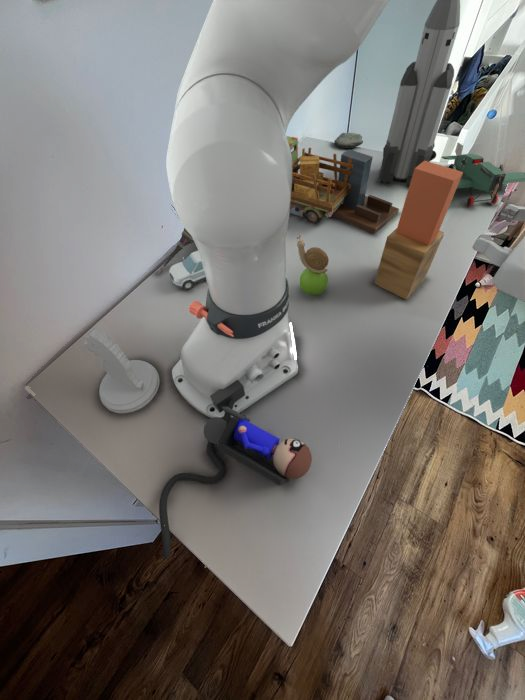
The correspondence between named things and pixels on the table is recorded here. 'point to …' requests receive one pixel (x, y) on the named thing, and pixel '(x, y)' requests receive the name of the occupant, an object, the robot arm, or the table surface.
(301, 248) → the snail figurine
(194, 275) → the toy car
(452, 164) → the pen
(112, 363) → the white curved piece
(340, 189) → the toy truck
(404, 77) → the toy rocket
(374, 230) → the pad mount
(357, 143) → the stone
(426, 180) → the back pad
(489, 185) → the toy airplane
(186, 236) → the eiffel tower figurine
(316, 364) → the table surface
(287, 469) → the character figurine
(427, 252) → the block
